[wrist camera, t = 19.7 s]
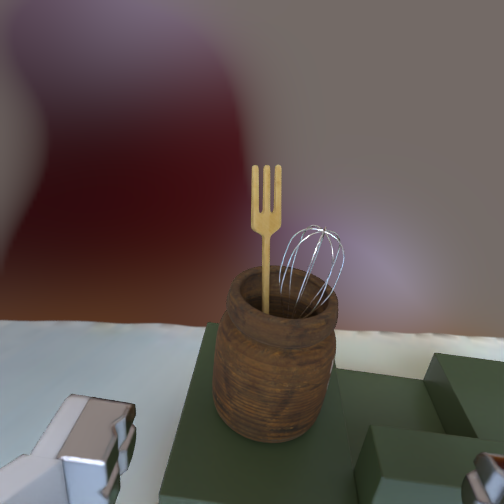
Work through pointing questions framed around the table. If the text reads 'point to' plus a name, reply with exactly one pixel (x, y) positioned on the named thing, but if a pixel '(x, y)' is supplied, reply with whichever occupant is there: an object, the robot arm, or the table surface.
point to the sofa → (345, 440)
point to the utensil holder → (274, 337)
